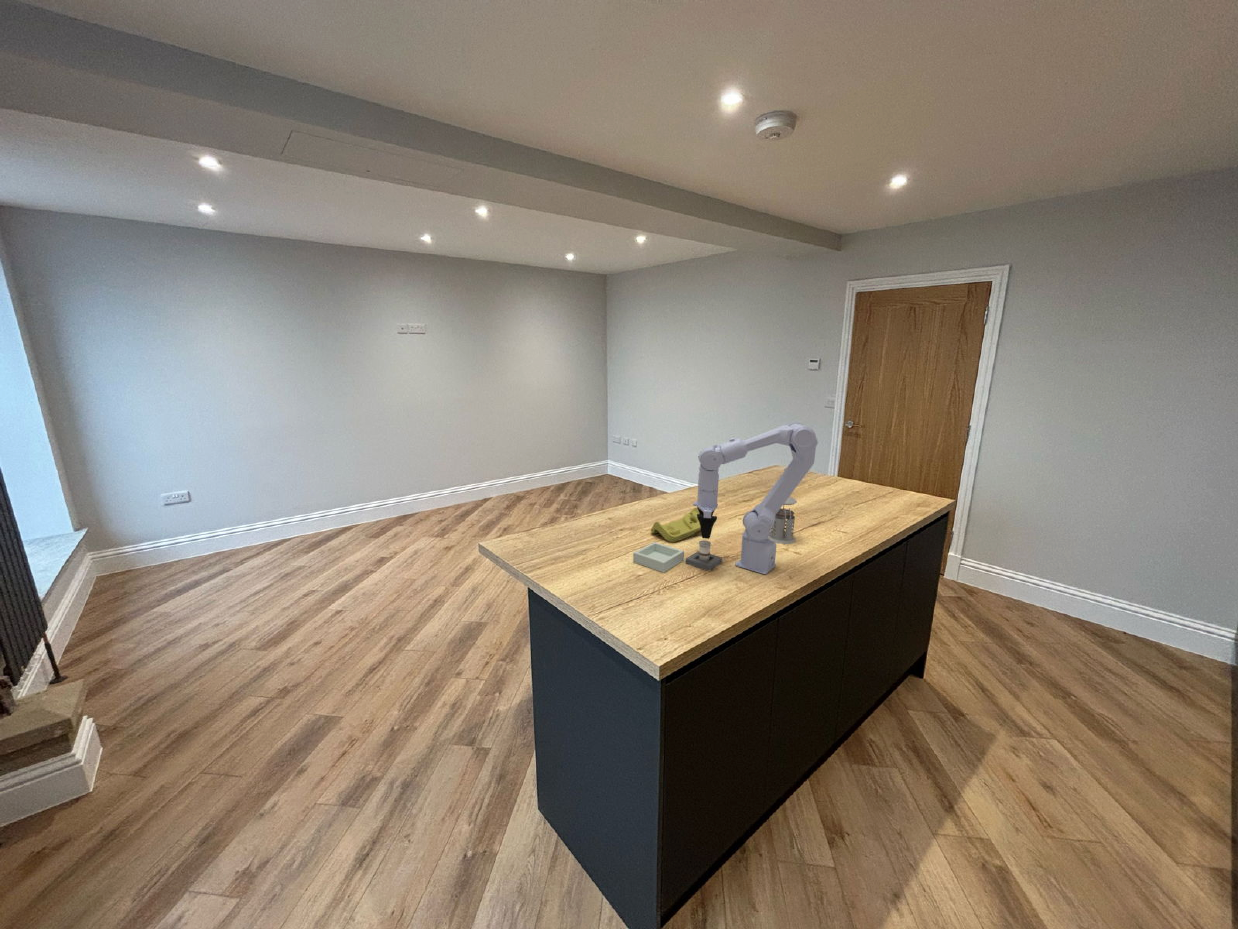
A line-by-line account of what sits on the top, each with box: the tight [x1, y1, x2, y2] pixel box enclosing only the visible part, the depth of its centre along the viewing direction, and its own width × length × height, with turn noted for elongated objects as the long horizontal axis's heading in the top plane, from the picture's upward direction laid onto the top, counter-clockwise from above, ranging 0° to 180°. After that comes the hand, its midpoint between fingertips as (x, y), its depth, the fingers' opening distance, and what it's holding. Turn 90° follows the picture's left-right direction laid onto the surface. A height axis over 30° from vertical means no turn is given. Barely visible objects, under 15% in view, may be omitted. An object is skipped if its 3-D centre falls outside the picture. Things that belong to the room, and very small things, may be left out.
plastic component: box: [650, 507, 701, 543], centre depth 162 cm, size 20×7×10 cm
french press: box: [768, 467, 798, 545], centre depth 155 cm, size 10×12×25 cm
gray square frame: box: [685, 550, 723, 572], centre depth 138 cm, size 8×8×2 cm
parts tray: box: [632, 541, 685, 573], centre depth 139 cm, size 11×11×3 cm
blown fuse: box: [698, 539, 712, 563], centre depth 138 cm, size 3×3×6 cm
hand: (705, 533), depth 136 cm, fingers open, 7 cm apart
